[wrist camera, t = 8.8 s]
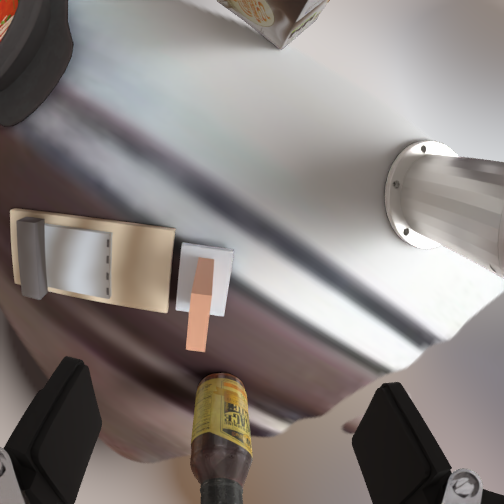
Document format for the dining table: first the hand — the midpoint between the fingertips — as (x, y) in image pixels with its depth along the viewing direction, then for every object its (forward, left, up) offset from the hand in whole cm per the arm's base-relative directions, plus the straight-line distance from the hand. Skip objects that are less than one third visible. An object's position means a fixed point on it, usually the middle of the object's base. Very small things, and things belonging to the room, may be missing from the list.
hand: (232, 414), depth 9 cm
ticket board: (+15, +5, -23) cm, 28 cm away
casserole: (+30, -20, -24) cm, 43 cm away
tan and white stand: (+1, +5, -22) cm, 23 cm away
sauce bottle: (-2, +20, -24) cm, 31 cm away
